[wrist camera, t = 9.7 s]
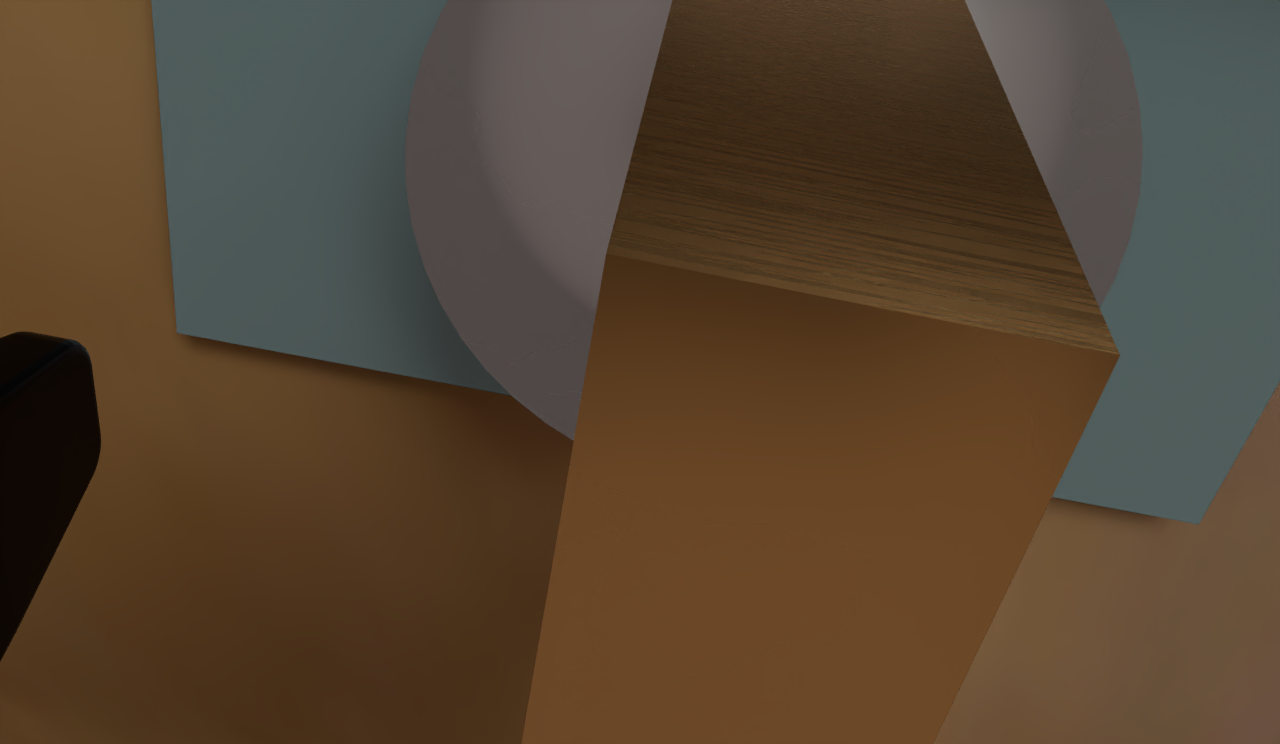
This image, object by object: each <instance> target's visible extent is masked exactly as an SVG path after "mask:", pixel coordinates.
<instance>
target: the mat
mask: <svg viewBox="0 0 1280 744" xmlns="http://www.w3.org/2000/svg"><path fill="white" fill-rule="evenodd" d="M447 1H448V0H151V2H152V15H153V28H154V41H155V54H156V67H157V80H158V93H159V106H160V119H161V131H162V144H163V157H164V170H165V183H166V196H167V209H168V222H169V235H170V248H171V261H172V274H173V287H174V300H175V313H176V326H177V333H180V334H185V335H191V336H196V337H201V338H207V339H212V340H217V341H223V342H228V343H233V344H239V345H244V346H249V347H255V348H260V349H265V350H271V351H276V352H281V353H287V354H292V355H297V356H303V357H308V358H313V359H319V360H324V361H329V362H335V363H340V364H345V365H351V366H356V367H361V368H367V369H372V370H377V371H383V372H388V373H393V374H399V375H404V376H409V377H415V378H420V379H425V380H431V381H436V382H441V383H447V384H452V385H457V386H463V387H468V388H473V389H479V390H484V391H490V392H495V393H500V394H506V395H510V394H509V393H508V392H507V391H506V390H505V389H504V388H503V387H502V386H501V385H500V384H499V383H498V381H497V380H496V379H495V378H494V377H493V376H492V375H491V374H490V373H489V372H488V371H487V370H486V369H485V368H484V367H483V366H482V364H481V363H480V362H479V360H478V359H477V358H476V357H475V355H474V354H473V353H472V352H471V350H470V349H469V348H468V346H467V345H466V344H465V343H464V341H463V340H462V339H461V337H460V336H459V334H458V332H457V331H456V329H455V327H454V326H453V324H452V322H451V321H450V319H449V317H448V316H447V314H446V312H445V311H444V309H443V307H442V306H441V304H440V302H439V300H438V298H437V295H436V293H435V291H434V289H433V286H432V284H431V282H430V279H429V277H428V275H427V273H426V270H425V268H424V266H423V263H422V259H421V256H420V252H419V249H418V245H417V242H416V239H415V235H414V232H413V228H412V224H411V217H410V211H409V204H408V197H407V190H406V182H405V137H406V130H407V122H408V115H409V107H410V99H411V94H412V91H413V87H414V84H415V80H416V77H417V73H418V69H419V66H420V62H421V59H422V55H423V52H424V50H425V48H426V45H427V43H428V41H429V39H430V36H431V34H432V32H433V29H434V27H435V25H436V23H437V20H438V18H439V16H440V14H441V11H442V9H443V8H444V6H445V5H446V3H447ZM1104 1H1105V3H1106V5H1107V6H1108V8H1109V10H1110V12H1111V14H1112V17H1113V19H1114V21H1115V24H1116V26H1117V29H1118V31H1119V34H1120V36H1121V39H1122V41H1123V44H1124V46H1125V49H1126V51H1127V54H1128V56H1129V60H1130V65H1131V69H1132V73H1133V77H1134V82H1135V86H1136V90H1137V95H1138V99H1139V103H1140V117H1141V130H1142V143H1143V157H1142V170H1141V183H1140V196H1139V201H1138V205H1137V210H1136V214H1135V218H1134V223H1133V227H1132V232H1131V236H1130V240H1129V243H1128V246H1127V248H1126V251H1125V254H1124V256H1123V259H1122V262H1121V264H1120V267H1119V270H1118V272H1117V275H1116V277H1115V280H1114V282H1113V284H1112V286H1111V288H1110V290H1109V292H1108V294H1107V295H1106V297H1105V299H1104V301H1103V303H1102V305H1101V306H1100V310H1101V313H1102V315H1103V317H1104V320H1105V322H1106V324H1107V326H1108V329H1109V331H1110V333H1111V336H1112V338H1113V340H1114V342H1115V345H1116V347H1117V349H1118V352H1119V354H1120V357H1119V359H1118V361H1117V363H1116V365H1115V367H1114V369H1113V371H1112V374H1111V376H1110V378H1109V380H1108V382H1107V384H1106V386H1105V388H1104V390H1103V392H1102V394H1101V396H1100V398H1099V401H1098V403H1097V405H1096V407H1095V409H1094V411H1093V413H1092V415H1091V417H1090V419H1089V421H1088V423H1087V425H1086V428H1085V430H1084V432H1083V434H1082V436H1081V438H1080V440H1079V442H1078V444H1077V446H1076V448H1075V450H1074V452H1073V454H1072V457H1071V459H1070V461H1069V463H1068V465H1067V467H1066V469H1065V471H1064V473H1063V475H1062V477H1061V479H1060V481H1059V484H1058V486H1057V488H1056V490H1055V492H1054V494H1053V496H1052V497H1055V498H1060V499H1066V500H1071V501H1076V502H1082V503H1087V504H1092V505H1098V506H1103V507H1108V508H1114V509H1119V510H1124V511H1130V512H1135V513H1140V514H1146V515H1151V516H1156V517H1162V518H1167V519H1172V520H1178V521H1183V522H1188V523H1194V524H1199V523H1200V521H1201V519H1202V518H1203V516H1204V514H1205V512H1206V511H1207V509H1208V507H1209V505H1210V504H1211V502H1212V500H1213V498H1214V497H1215V495H1216V493H1217V491H1218V489H1219V488H1220V486H1221V484H1222V482H1223V481H1224V479H1225V477H1226V475H1227V474H1228V472H1229V470H1230V468H1231V467H1232V465H1233V463H1234V461H1235V459H1236V458H1237V456H1238V454H1239V452H1240V451H1241V449H1242V447H1243V445H1244V444H1245V442H1246V440H1247V438H1248V437H1249V435H1250V433H1251V431H1252V430H1253V428H1254V426H1255V424H1256V422H1257V421H1258V419H1259V417H1260V415H1261V414H1262V412H1263V410H1264V408H1265V407H1266V405H1267V403H1268V401H1269V400H1270V398H1271V396H1272V394H1273V392H1274V391H1275V389H1276V387H1277V385H1278V384H1279V382H1280V0H1104Z"/></svg>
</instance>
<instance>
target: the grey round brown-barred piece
mask: <svg viewBox="0 0 1280 744" xmlns="http://www.w3.org/2000/svg"><path fill="white" fill-rule="evenodd" d="M1142 157H1143V143H1142V130H1141V117H1140V103H1139V99H1138V95H1137V90H1136V86H1135V82H1134V77H1133V73H1132V69H1131V65H1130V60H1129V56H1128V54H1127V51H1126V49H1125V46H1124V44H1123V41H1122V39H1121V36H1120V34H1119V31H1118V29H1117V26H1116V24H1115V21H1114V19H1113V17H1112V14H1111V12H1110V10H1109V8H1108V6H1107V5H1106V3H1105V1H1104V0H448V1H447V3H446V5H445V6H444V8H443V9H442V11H441V14H440V16H439V18H438V20H437V23H436V25H435V27H434V29H433V32H432V34H431V36H430V39H429V41H428V43H427V45H426V48H425V50H424V52H423V55H422V59H421V62H420V66H419V69H418V73H417V77H416V80H415V84H414V87H413V91H412V94H411V99H410V107H409V115H408V122H407V130H406V137H405V182H406V190H407V197H408V204H409V211H410V217H411V224H412V228H413V232H414V235H415V239H416V242H417V245H418V249H419V252H420V256H421V259H422V263H423V266H424V268H425V270H426V273H427V275H428V277H429V279H430V282H431V284H432V286H433V289H434V291H435V293H436V295H437V298H438V300H439V302H440V304H441V306H442V307H443V309H444V311H445V312H446V314H447V316H448V317H449V319H450V321H451V322H452V324H453V326H454V327H455V329H456V331H457V332H458V334H459V336H460V337H461V339H462V340H463V341H464V343H465V344H466V345H467V346H468V348H469V349H470V350H471V352H472V353H473V354H474V355H475V357H476V358H477V359H478V360H479V362H480V363H481V364H482V366H483V367H484V368H485V369H486V370H487V371H488V372H489V373H490V374H491V375H492V376H493V377H494V378H495V379H496V380H497V381H498V383H499V384H500V385H501V386H502V387H503V388H504V389H505V390H506V391H507V392H508V393H509V394H510V395H511V396H512V397H513V398H515V399H516V400H517V401H518V402H520V403H521V404H522V405H523V406H525V407H526V408H527V409H528V410H530V411H531V412H532V413H533V414H535V415H536V416H537V417H538V418H540V419H541V420H542V421H543V422H545V423H546V424H548V425H549V426H551V427H552V428H554V429H556V430H557V431H559V432H560V433H562V434H564V435H565V436H567V437H568V438H570V439H572V440H573V441H574V442H573V448H572V453H571V459H570V465H569V471H568V476H567V482H566V488H565V494H564V499H563V505H562V511H561V517H560V522H559V528H558V534H557V540H556V546H555V551H554V557H553V563H552V569H551V574H550V580H549V586H548V592H547V597H546V603H545V609H544V615H543V621H542V626H541V632H540V638H539V644H538V649H537V655H536V661H535V667H534V672H533V678H532V684H531V690H530V696H529V701H528V707H527V713H526V719H525V724H524V730H523V736H522V742H521V744H933V743H934V741H935V739H936V737H937V735H938V733H939V731H940V728H941V726H942V724H943V722H944V720H945V718H946V716H947V714H948V712H949V710H950V708H951V706H952V704H953V701H954V699H955V697H956V695H957V693H958V691H959V689H960V687H961V685H962V683H963V681H964V679H965V677H966V675H967V672H968V670H969V668H970V666H971V664H972V662H973V660H974V658H975V656H976V654H977V652H978V650H979V648H980V645H981V643H982V641H983V639H984V637H985V635H986V633H987V631H988V629H989V627H990V625H991V623H992V621H993V618H994V616H995V614H996V612H997V610H998V608H999V606H1000V604H1001V602H1002V600H1003V598H1004V596H1005V594H1006V591H1007V589H1008V587H1009V585H1010V583H1011V581H1012V579H1013V577H1014V575H1015V573H1016V571H1017V569H1018V567H1019V564H1020V562H1021V560H1022V558H1023V556H1024V554H1025V552H1026V550H1027V548H1028V546H1029V544H1030V542H1031V540H1032V538H1033V535H1034V533H1035V531H1036V529H1037V527H1038V525H1039V523H1040V521H1041V519H1042V517H1043V515H1044V513H1045V511H1046V508H1047V506H1048V504H1049V502H1050V500H1051V498H1052V496H1053V494H1054V492H1055V490H1056V488H1057V486H1058V484H1059V481H1060V479H1061V477H1062V475H1063V473H1064V471H1065V469H1066V467H1067V465H1068V463H1069V461H1070V459H1071V457H1072V454H1073V452H1074V450H1075V448H1076V446H1077V444H1078V442H1079V440H1080V438H1081V436H1082V434H1083V432H1084V430H1085V428H1086V425H1087V423H1088V421H1089V419H1090V417H1091V415H1092V413H1093V411H1094V409H1095V407H1096V405H1097V403H1098V401H1099V398H1100V396H1101V394H1102V392H1103V390H1104V388H1105V386H1106V384H1107V382H1108V380H1109V378H1110V376H1111V374H1112V371H1113V369H1114V367H1115V365H1116V363H1117V361H1118V359H1119V357H1120V354H1119V352H1118V349H1117V347H1116V345H1115V342H1114V340H1113V338H1112V336H1111V333H1110V331H1109V329H1108V326H1107V324H1106V322H1105V320H1104V317H1103V315H1102V313H1101V310H1100V306H1101V305H1102V303H1103V301H1104V299H1105V297H1106V295H1107V294H1108V292H1109V290H1110V288H1111V286H1112V284H1113V282H1114V280H1115V277H1116V275H1117V272H1118V270H1119V267H1120V264H1121V262H1122V259H1123V256H1124V254H1125V251H1126V248H1127V246H1128V243H1129V240H1130V236H1131V232H1132V227H1133V223H1134V218H1135V214H1136V210H1137V205H1138V201H1139V196H1140V183H1141V170H1142Z"/></svg>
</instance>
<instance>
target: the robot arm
mask: <svg viewBox="0 0 1280 744" xmlns="http://www.w3.org/2000/svg"><path fill="white" fill-rule="evenodd" d="M100 448H101V434H100V426H99V418H98V410H97V402H96V395H95V387H94V379H93V371H92V364H91V360H90V356H89V354H88V352H87V350H86V348H85V347H84V346H83V345H81V344H80V343H79V342H77V341H75V340H71V339H65V338H60V337H55V336H49V335H44V334H39V333H33V332H16V333H13V334H10V335H7V336H4V337H2V338H0V661H1V659H2V657H3V656H4V654H5V652H6V650H7V648H8V646H9V644H10V642H11V640H12V639H13V637H14V635H15V633H16V631H17V629H18V627H19V625H20V623H21V621H22V619H23V617H24V615H25V613H26V611H27V609H28V607H29V605H30V603H31V601H32V599H33V597H34V595H35V593H36V591H37V588H38V586H39V584H40V582H41V580H42V578H43V576H44V574H45V572H46V570H47V568H48V566H49V564H50V562H51V560H52V558H53V556H54V554H55V552H56V550H57V548H58V546H59V544H60V542H61V540H62V538H63V536H64V534H65V532H66V530H67V528H68V525H69V523H70V521H71V519H72V517H73V515H74V513H75V511H76V509H77V507H78V505H79V503H80V501H81V499H82V497H83V495H84V493H85V491H86V489H87V487H88V485H89V483H90V481H91V479H92V477H93V474H94V472H95V470H96V467H97V463H98V460H99V455H100Z"/></svg>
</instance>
